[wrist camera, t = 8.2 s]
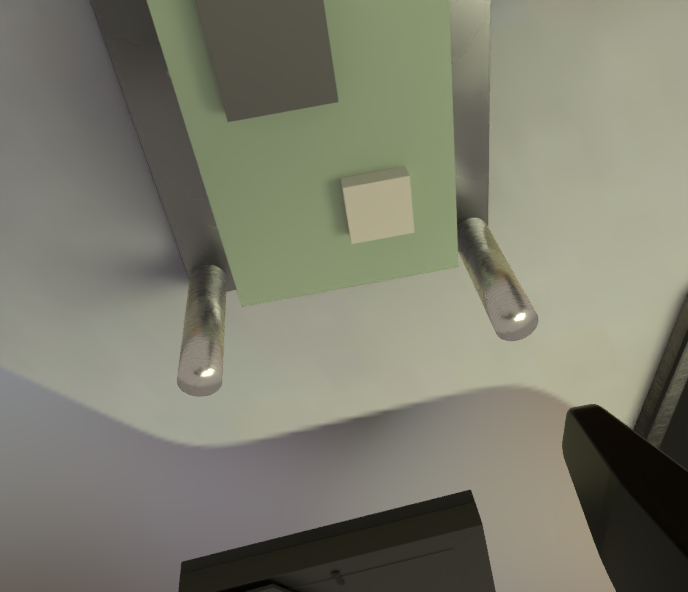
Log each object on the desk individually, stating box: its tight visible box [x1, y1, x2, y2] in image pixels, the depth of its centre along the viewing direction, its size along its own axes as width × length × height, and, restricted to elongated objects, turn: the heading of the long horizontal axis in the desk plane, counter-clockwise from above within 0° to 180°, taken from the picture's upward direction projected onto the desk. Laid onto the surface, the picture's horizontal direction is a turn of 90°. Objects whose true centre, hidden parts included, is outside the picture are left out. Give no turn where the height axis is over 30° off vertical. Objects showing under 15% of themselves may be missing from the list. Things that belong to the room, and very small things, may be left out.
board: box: [147, 0, 458, 307], centre depth 15 cm, size 6×10×2 cm, turn 8°
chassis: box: [90, 0, 538, 396], centre depth 16 cm, size 10×14×6 cm
